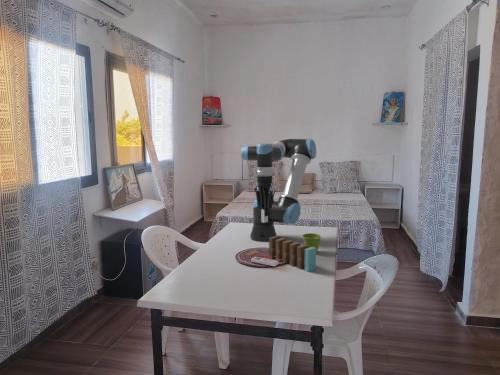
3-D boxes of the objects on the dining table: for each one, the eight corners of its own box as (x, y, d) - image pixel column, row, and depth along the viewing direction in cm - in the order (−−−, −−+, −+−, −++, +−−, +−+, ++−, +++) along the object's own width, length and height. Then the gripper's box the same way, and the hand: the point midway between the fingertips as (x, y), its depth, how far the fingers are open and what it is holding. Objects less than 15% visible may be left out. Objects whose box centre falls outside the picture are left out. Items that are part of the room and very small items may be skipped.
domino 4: (289, 265, 174) (289, 244, 172) (296, 262, 177) (297, 242, 176) (293, 266, 172) (293, 245, 171) (300, 263, 176) (300, 243, 174)
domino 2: (275, 259, 181) (275, 239, 179) (282, 257, 184) (283, 237, 183) (278, 261, 179) (278, 240, 178) (286, 258, 182) (286, 238, 181)
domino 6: (304, 270, 167) (304, 249, 165) (311, 267, 170) (312, 246, 169) (308, 272, 165) (308, 250, 164) (315, 269, 169) (316, 247, 167)
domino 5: (296, 267, 170) (297, 246, 169) (304, 265, 174) (304, 244, 172) (300, 269, 169) (300, 247, 167) (307, 266, 172) (308, 245, 170)
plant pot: (319, 256, 186) (319, 239, 184) (300, 254, 189) (300, 237, 187) (321, 250, 194) (322, 234, 193) (303, 248, 198) (304, 232, 196)
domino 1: (269, 257, 184) (269, 237, 183) (276, 255, 188) (276, 235, 186) (272, 258, 183) (272, 238, 181) (279, 256, 186) (279, 236, 184)
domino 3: (282, 262, 177) (282, 242, 176) (289, 259, 181) (289, 239, 179) (285, 263, 176) (285, 243, 174) (293, 261, 179) (293, 240, 177)
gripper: (250, 174, 187) (250, 220, 190) (268, 177, 177) (268, 225, 180) (261, 173, 192) (261, 218, 195) (279, 175, 181) (279, 223, 185)
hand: (264, 221), depth 188 cm, fingers closed
